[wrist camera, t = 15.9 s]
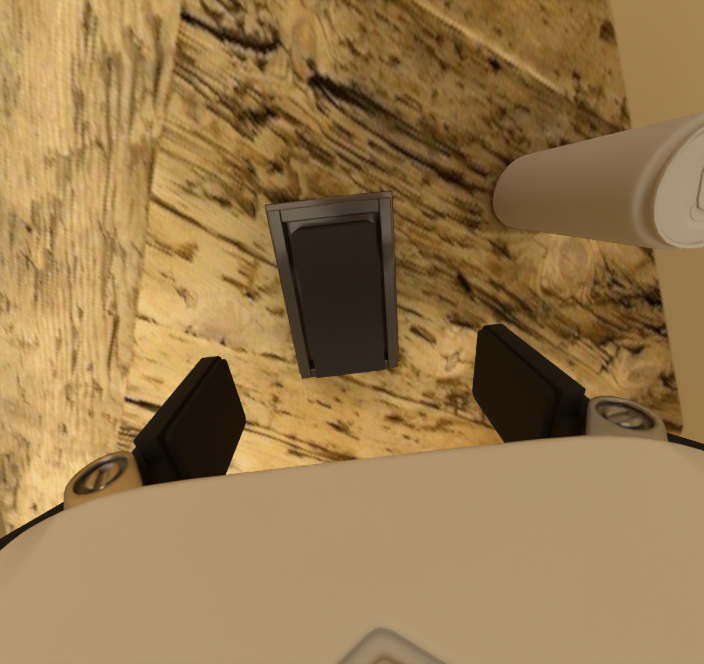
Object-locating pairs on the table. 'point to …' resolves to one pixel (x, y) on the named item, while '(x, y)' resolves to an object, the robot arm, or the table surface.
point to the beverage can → (613, 187)
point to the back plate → (324, 213)
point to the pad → (341, 296)
